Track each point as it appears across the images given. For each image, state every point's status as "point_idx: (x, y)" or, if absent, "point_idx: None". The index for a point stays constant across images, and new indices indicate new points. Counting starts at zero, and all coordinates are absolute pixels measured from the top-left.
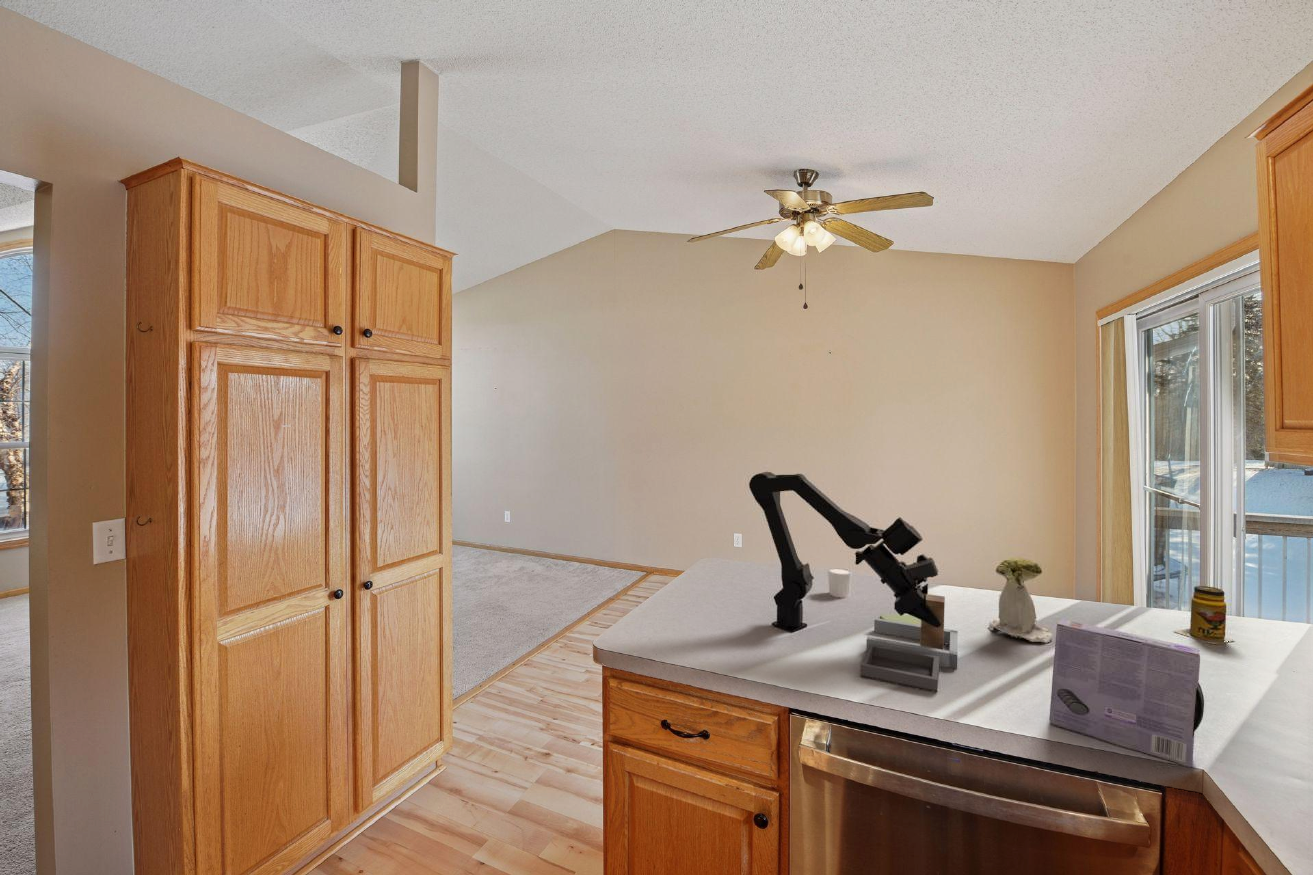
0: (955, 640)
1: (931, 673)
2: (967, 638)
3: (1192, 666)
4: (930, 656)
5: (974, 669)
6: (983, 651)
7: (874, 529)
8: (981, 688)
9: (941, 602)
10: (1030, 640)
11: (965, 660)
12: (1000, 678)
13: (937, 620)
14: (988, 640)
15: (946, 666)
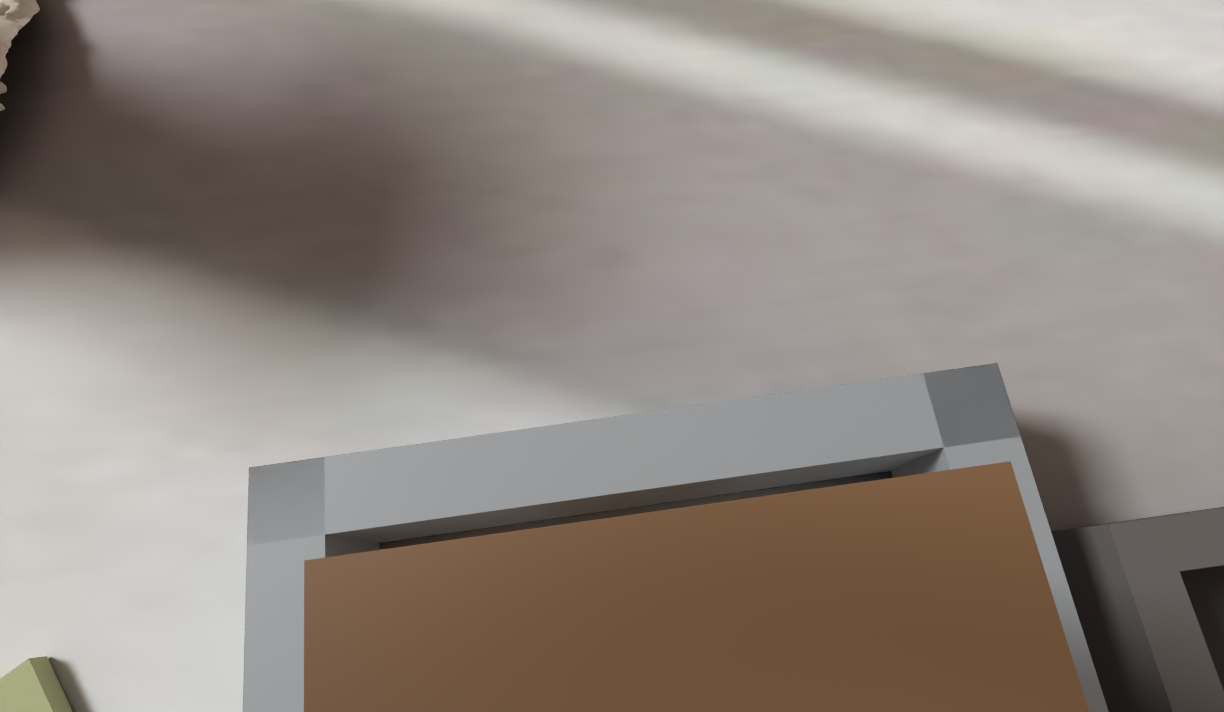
0: (580, 442)
1: None
2: (127, 427)
3: None
4: (1184, 609)
5: (842, 287)
6: (395, 277)
7: None
8: (1170, 204)
9: (1036, 551)
10: (28, 10)
11: (693, 369)
12: (882, 125)
13: None
14: (103, 273)
15: None
